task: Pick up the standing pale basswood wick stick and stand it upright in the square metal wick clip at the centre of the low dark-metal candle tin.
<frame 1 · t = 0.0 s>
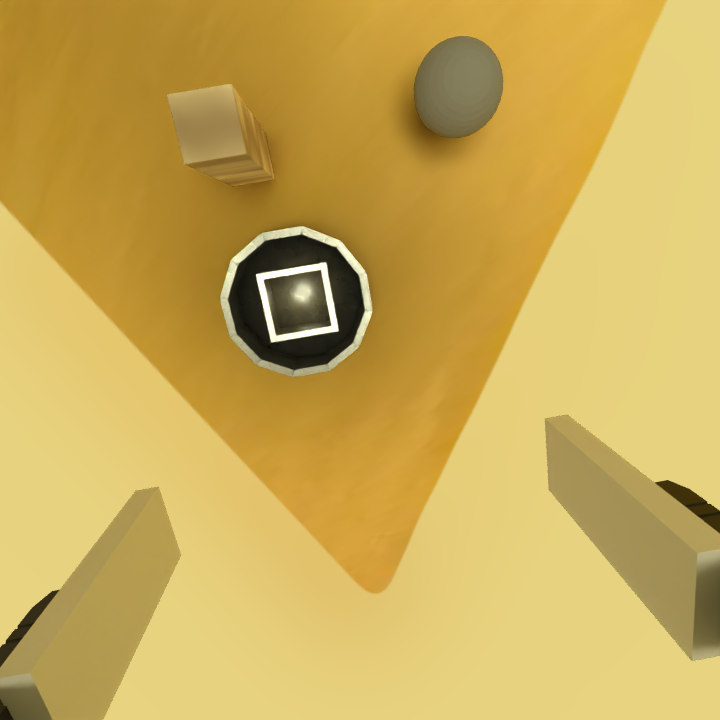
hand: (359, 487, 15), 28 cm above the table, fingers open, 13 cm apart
wick: (249, 160, 38), on the table
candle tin: (301, 297, 41), on the table
light bulb: (434, 115, 38), on the table
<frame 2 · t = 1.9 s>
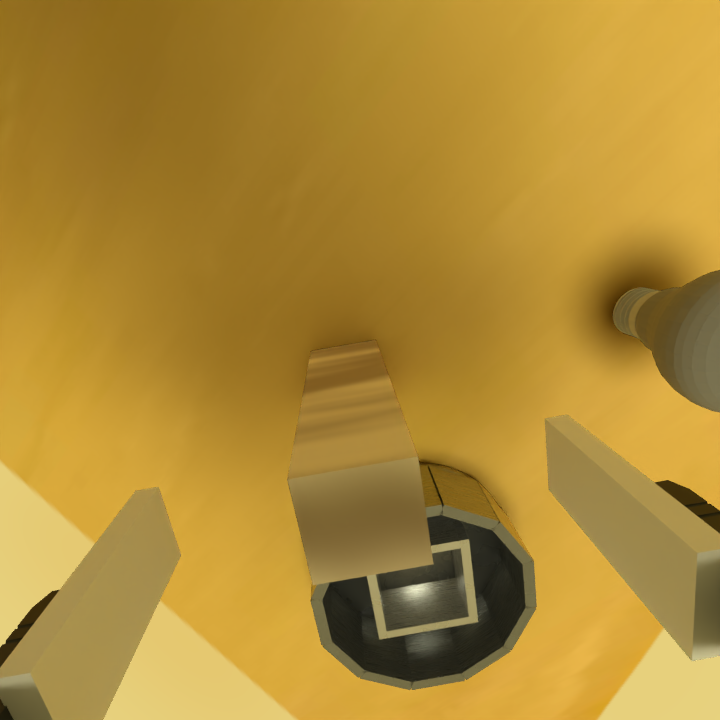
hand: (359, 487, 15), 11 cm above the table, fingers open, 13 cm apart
wick: (348, 376, 25), on the table
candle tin: (412, 547, 29), on the table
light bulb: (628, 308, 25), on the table
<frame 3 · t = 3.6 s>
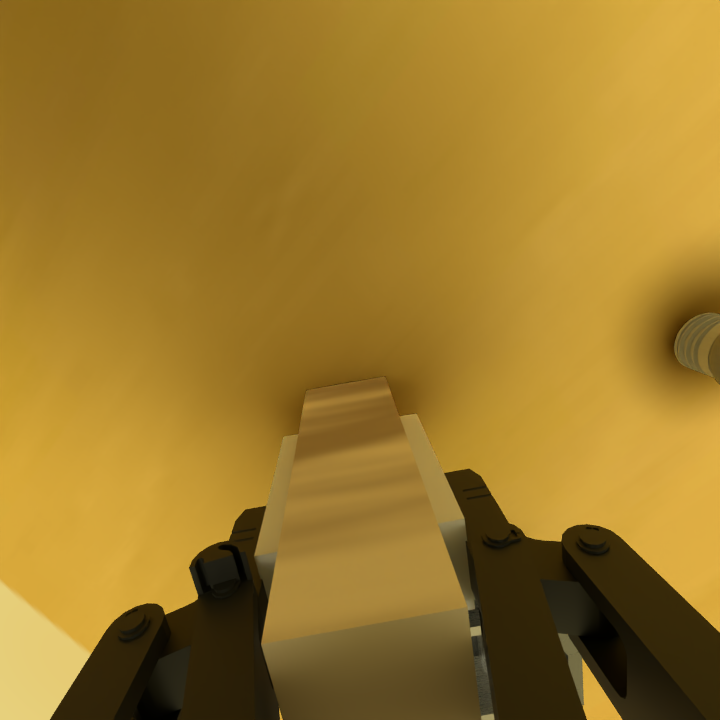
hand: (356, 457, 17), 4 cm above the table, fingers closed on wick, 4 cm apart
wick: (352, 419, 21), on the table, touching gripper
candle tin: (427, 618, 24), on the table
light bulb: (691, 337, 21), on the table
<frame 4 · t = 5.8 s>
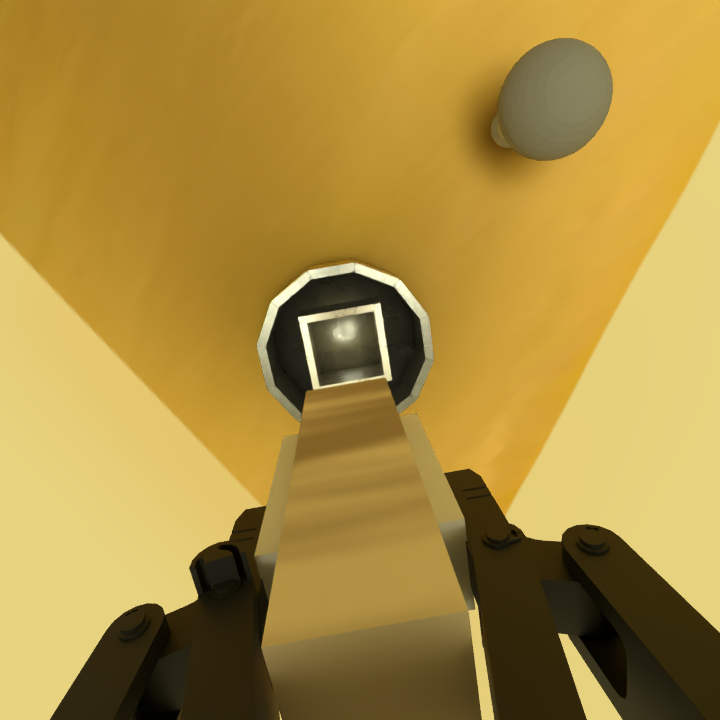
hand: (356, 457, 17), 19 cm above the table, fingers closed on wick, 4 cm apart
wick: (352, 420, 21), point 16 cm above the table, touching gripper
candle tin: (345, 338, 36), on the table
light bulb: (505, 129, 32), on the table
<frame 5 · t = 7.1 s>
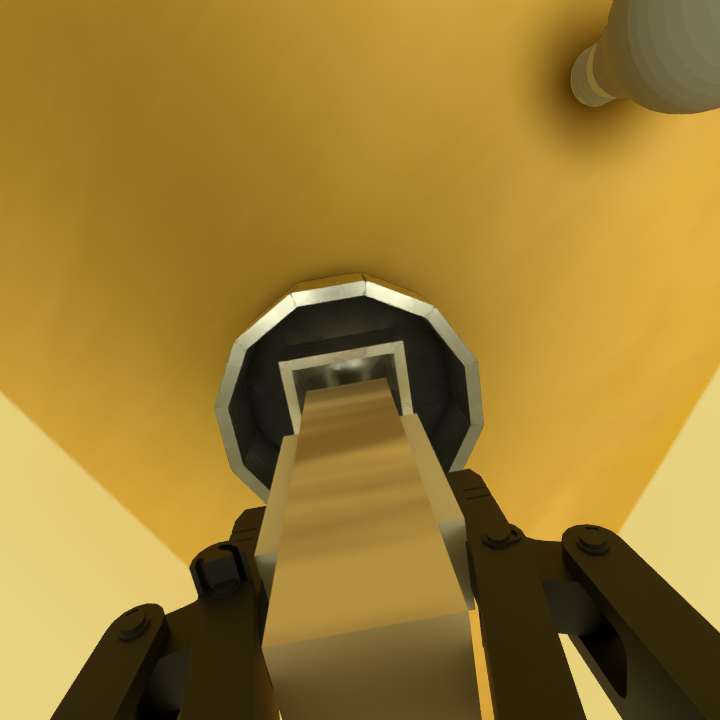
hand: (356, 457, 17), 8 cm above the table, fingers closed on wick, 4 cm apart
wick: (352, 421, 21), point 5 cm above the table, touching gripper
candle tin: (348, 384, 25), on the table
light bulb: (590, 80, 22), on the table
when the fingers open (6 cm above the table, at t = 8.1 s): wick drops 2 cm, resting on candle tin.
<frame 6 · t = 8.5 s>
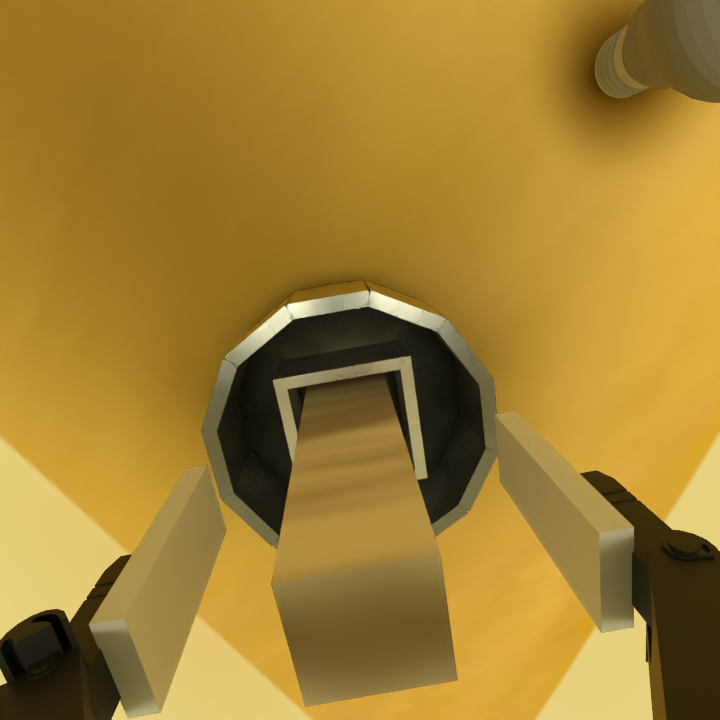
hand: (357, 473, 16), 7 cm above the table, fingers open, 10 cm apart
wick: (351, 406, 22), point 1 cm above the table, touching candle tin
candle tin: (350, 401, 23), on the table
light bulb: (615, 69, 20), on the table
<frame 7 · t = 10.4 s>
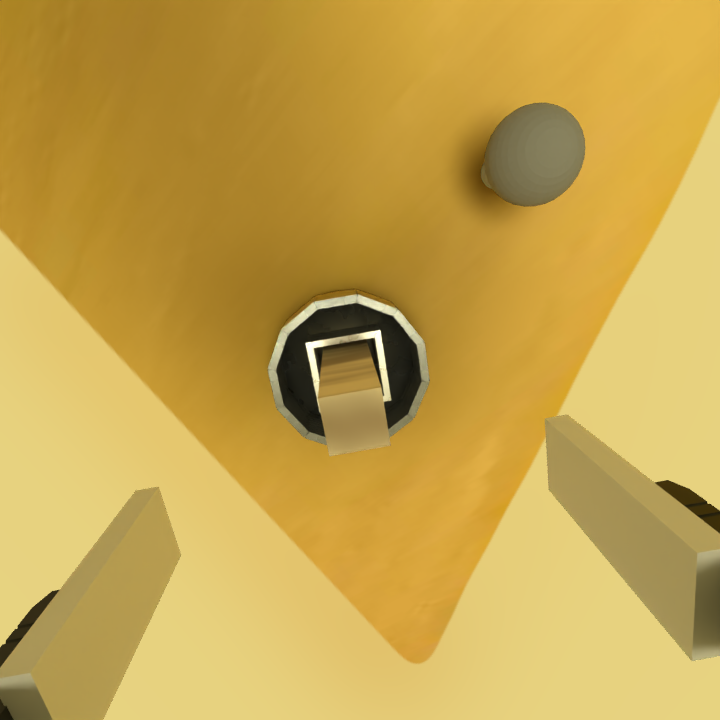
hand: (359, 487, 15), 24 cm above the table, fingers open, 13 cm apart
wick: (348, 362, 38), point 1 cm above the table, touching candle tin
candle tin: (348, 360, 39), on the table
light bulb: (494, 172, 36), on the table
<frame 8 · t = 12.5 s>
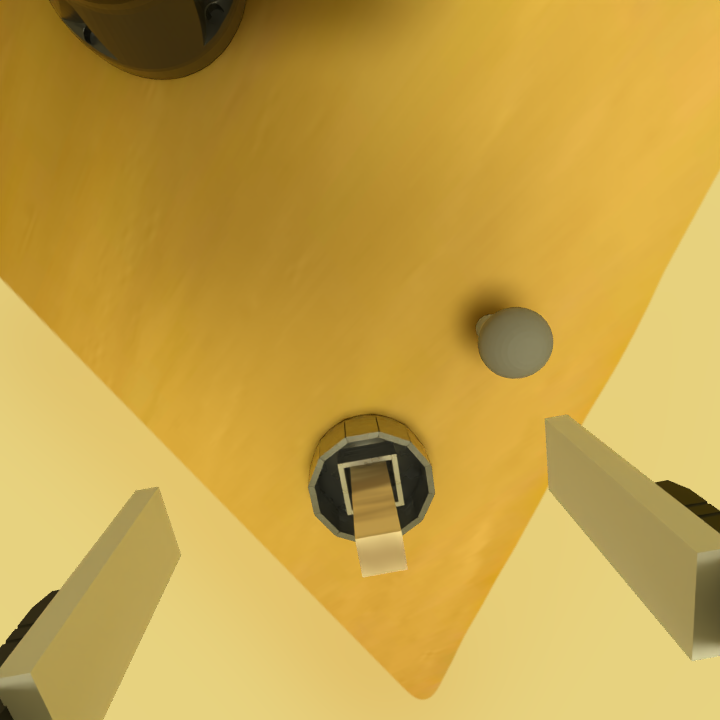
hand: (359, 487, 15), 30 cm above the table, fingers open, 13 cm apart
wick: (369, 470, 48), point 1 cm above the table, touching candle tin
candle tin: (368, 467, 48), on the table
light bulb: (486, 325, 45), on the table
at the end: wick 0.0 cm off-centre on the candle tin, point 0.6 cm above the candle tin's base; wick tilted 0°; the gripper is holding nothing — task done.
